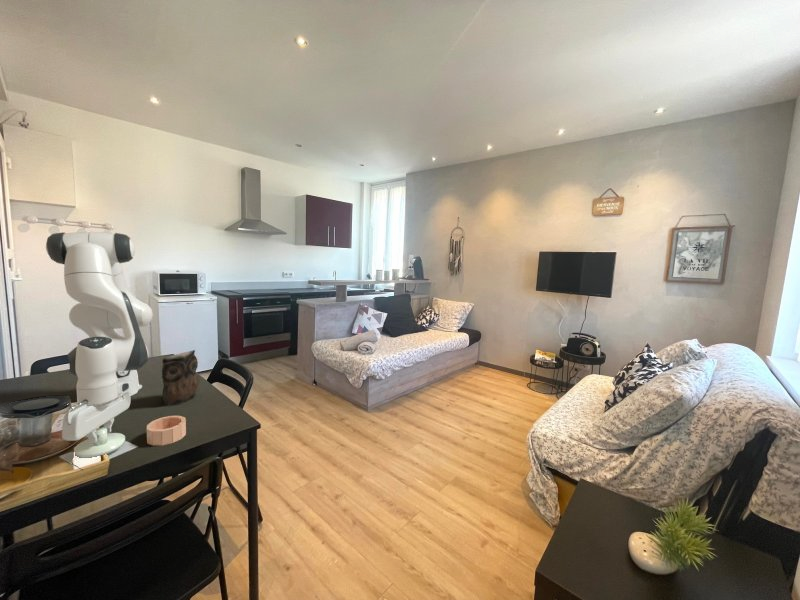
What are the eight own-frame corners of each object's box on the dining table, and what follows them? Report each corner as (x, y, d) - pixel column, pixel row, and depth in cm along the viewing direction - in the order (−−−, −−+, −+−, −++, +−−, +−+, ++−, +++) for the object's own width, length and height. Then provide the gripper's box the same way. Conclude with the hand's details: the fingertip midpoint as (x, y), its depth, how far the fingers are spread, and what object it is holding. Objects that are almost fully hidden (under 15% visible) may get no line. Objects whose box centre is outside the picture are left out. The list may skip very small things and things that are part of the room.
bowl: (139, 440, 102) (139, 426, 101) (173, 426, 111) (172, 413, 111) (159, 449, 98) (159, 434, 98) (192, 434, 107) (192, 420, 107)
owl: (200, 392, 140) (199, 348, 138) (193, 405, 128) (193, 356, 126) (165, 395, 135) (164, 349, 133) (155, 408, 123) (154, 358, 121)
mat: (58, 457, 92) (58, 456, 91) (113, 436, 103) (113, 435, 103) (83, 471, 87) (83, 470, 86) (138, 447, 98) (138, 446, 98)
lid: (66, 450, 92) (65, 433, 92) (112, 433, 102) (112, 417, 102) (87, 462, 88) (86, 444, 88) (133, 442, 98) (132, 426, 98)
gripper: (79, 410, 83) (81, 459, 85) (134, 380, 104) (135, 420, 105) (52, 409, 83) (55, 459, 84) (113, 380, 103) (114, 420, 104)
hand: (100, 437), depth 95 cm, fingers closed on lid, 3 cm apart
